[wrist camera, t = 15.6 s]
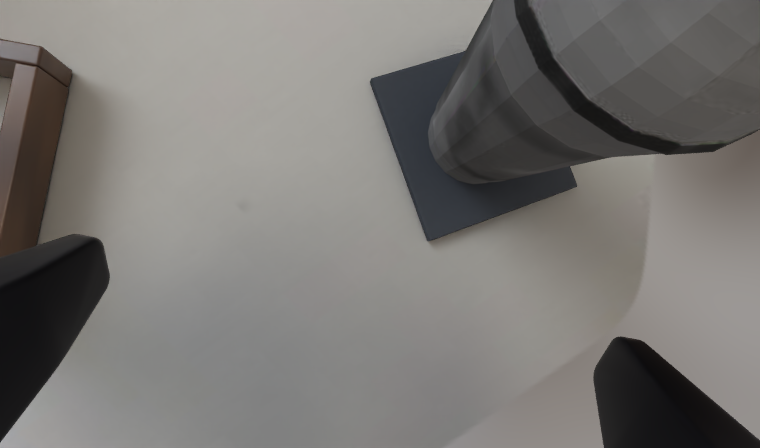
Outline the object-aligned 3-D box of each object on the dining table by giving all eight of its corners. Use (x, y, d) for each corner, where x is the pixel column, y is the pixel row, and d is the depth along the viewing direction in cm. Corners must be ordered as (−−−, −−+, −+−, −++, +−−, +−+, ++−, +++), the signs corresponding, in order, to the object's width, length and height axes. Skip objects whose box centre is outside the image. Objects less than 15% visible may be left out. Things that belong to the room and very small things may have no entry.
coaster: (573, 187, 22) (577, 186, 22) (427, 241, 20) (429, 241, 20) (517, 38, 22) (521, 34, 22) (369, 81, 21) (370, 78, 20)
